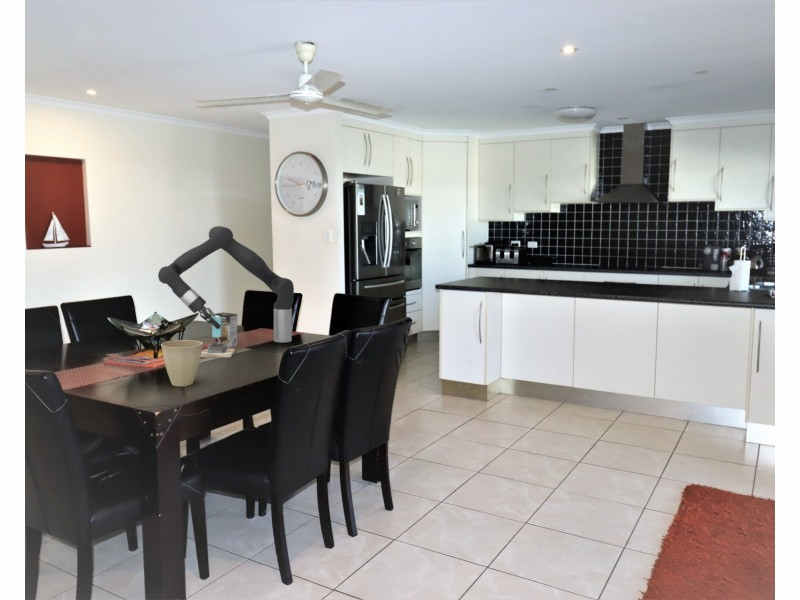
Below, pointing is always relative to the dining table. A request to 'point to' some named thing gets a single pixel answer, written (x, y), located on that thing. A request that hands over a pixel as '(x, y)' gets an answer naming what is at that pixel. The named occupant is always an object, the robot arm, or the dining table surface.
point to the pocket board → (218, 350)
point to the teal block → (216, 331)
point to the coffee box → (228, 329)
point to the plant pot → (182, 360)
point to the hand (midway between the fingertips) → (220, 326)
